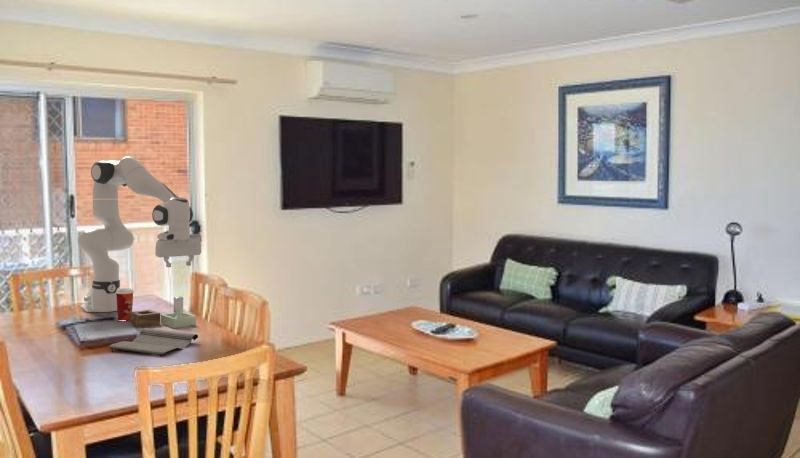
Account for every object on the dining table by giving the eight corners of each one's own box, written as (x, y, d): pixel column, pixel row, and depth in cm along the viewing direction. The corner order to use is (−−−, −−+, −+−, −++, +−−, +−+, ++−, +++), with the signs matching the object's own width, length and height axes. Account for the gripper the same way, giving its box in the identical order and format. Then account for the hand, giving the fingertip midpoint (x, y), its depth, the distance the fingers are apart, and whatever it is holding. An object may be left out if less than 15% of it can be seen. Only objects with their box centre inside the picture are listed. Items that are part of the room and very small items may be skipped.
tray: (160, 323, 292) (160, 314, 292) (181, 320, 300) (181, 311, 299) (174, 328, 284) (174, 319, 284) (195, 325, 292) (195, 316, 291)
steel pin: (171, 321, 292) (172, 297, 291) (180, 320, 295) (180, 296, 294) (176, 323, 289) (176, 298, 288) (184, 322, 292) (185, 297, 291)
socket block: (130, 323, 290) (130, 312, 290) (150, 320, 297) (150, 309, 297) (139, 327, 284) (139, 315, 284) (160, 324, 291) (160, 312, 291)
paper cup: (129, 322, 292) (129, 291, 291) (112, 322, 292) (112, 290, 291) (137, 318, 300) (137, 288, 299) (120, 318, 300) (120, 287, 299)
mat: (107, 352, 244) (107, 340, 244) (146, 338, 267) (147, 327, 267) (163, 358, 239) (163, 346, 238) (198, 343, 262) (198, 332, 261)
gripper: (196, 233, 299) (196, 263, 300) (153, 235, 284) (153, 267, 285) (204, 234, 294) (203, 265, 296) (160, 236, 279) (160, 268, 281)
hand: (178, 266), depth 290 cm, fingers open, 8 cm apart
